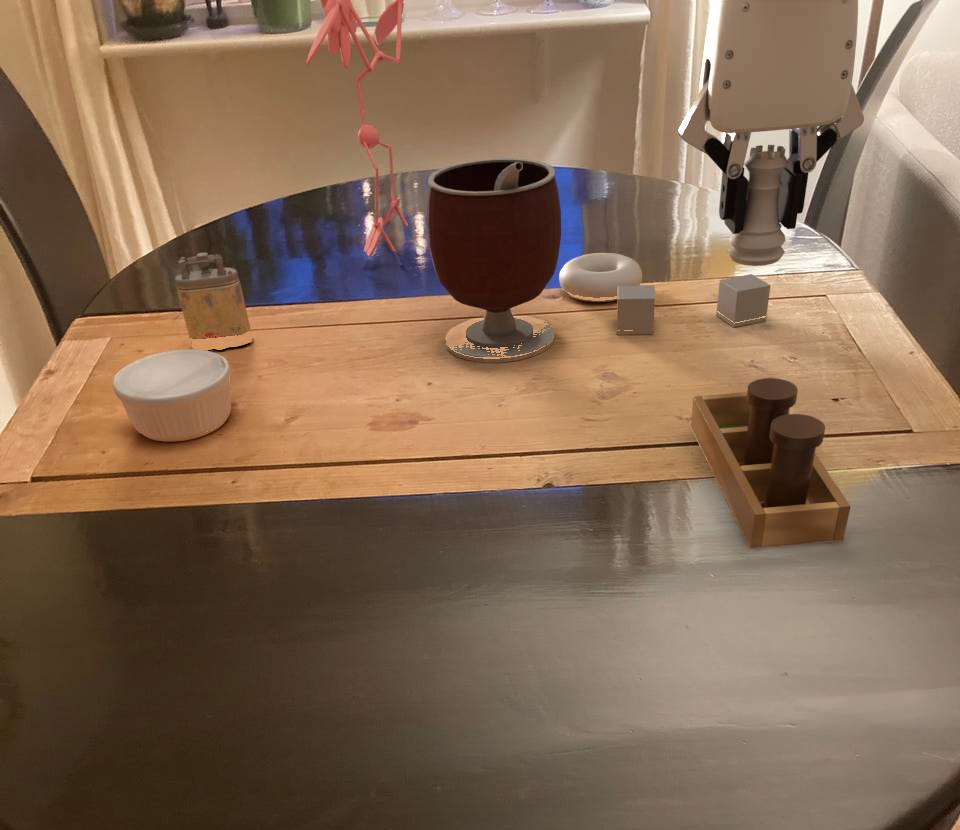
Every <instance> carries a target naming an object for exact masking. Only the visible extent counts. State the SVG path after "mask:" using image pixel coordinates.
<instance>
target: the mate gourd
mask: <svg viewBox="0 0 960 830" xmlns="http://www.w3.org/2000/svg"><path fill="white" fill-rule="evenodd" d="M555 175H556V170H555V168H554V167H553V166H552V165H551V164H548V163H546V162H543V161H539V160H533V159H529V158H528V159H527V158H513V157H511V158H509V157H502V158H486V159H483V158H482V159H475V160H470V161H464V162H459V163H455V164H451V165H447V166H445V167H442V168H439V169H438V170H435V171H434V172H432V173H431V174H430V175H428V178H427V184H428V188H427V195H426V215H425V216H426V219H425V223H426V227H427V228H426V234H427V244H428V249H429V253H430V258H431V262H432V266H433V268H434V272H435V275H436V277H437V280H438V282H439V283H440V285H442V287H443V288H444V289H445V290H446V291H447V292H448V294H449V295H450V296H451V297H452V299H454V301H456V302H458V303H460V304H462V305H464V306H468V307H472V308H475V309H481V310H483V311H485V313H484V315H485V316H484V320H482V321H479V322H476V323H474V324H472V325H471V326H469V327H468V328H467V330H466V338H467V340H468V341H469V342H471V343H473V344H474V345H472V346H475V347H472V348H475V349H471V348H470V344H469V345H467V346H469V347H467V348H466V344H464V345H462V346H464V347H462V348H459V347H458V345H457V346H454V347H457V348H454V350H455V349H457V350H455V351H457V352H460V353H462V354H464V355H469V356H474V357H502V356H501V355H499V356H497V354H501V352H500V353H496V352H494V353H491V350H490V349H489V350H486V349H482V347H483V348H486V347H488V348H498V349H500V347H508V348H505V349H509V350H506V351H503V352H507V353H504V354H503V355H506V356H515V355H520V354H525V353H529V352H532V353H529V354H526V355H522V356H517V357H511V358H500V359H483V358H474V357H469V356H464V355H462V354H459V353H456V352H454V351H453V350H451V349H450V348H449V347H448V346H447V345H446V343H445V342H444V344H445V345H444V346H445V349H446V350H447V351H448V352H449V353H450V354H451V355H452V356H455V357H456V358H459V359H461V360H462V359H463V360H465V361H470V362H475V363H484V364H485V363H488V364H490V363H492V364H499V363H510V362H516V361H521V360H526V359H529V358H532V357H535V356H537V355H540V354H541V353H544V352H545V351H547V350H548V349H549V348H551V347H552V345H553V344H554V342H555V338H556V336H555V335H556V334H555V335H554V333H555V328H554V327H553V326H552V327H550V326H551V325H552V323H550V322H548V324H549V325H546V327H544V328H543V329H546V330H547V331H544V333H542V330H543V329H541V332H540V333H534V334H537V335H533V327H532V325H531V324H530V323H528V322H526V321H524V320H521V319H516V318H514V317H513V315H512V313H513V312H512V311H511V309H513V308H514V307H515V308H516V307H518V306H521V305H523V304H525V303H529V302H530V301H533V300H534V299H536V298H537V297H539V296H540V295H541V294H542V292H543V291H544V290H545V288H546V286H547V285H548V284H549V282H551V279H552V278H553V277H554V275H555V272H556V270H557V269H556V268H557V265H558V260H559V255H560V246H561V240H562V209H561V202H560V195H559V189H558V184H557V180H556V176H555ZM544 323H546V322H544ZM547 328H550V329H547ZM538 332H539V331H538ZM539 334H540V335H539ZM533 336H536V337H533ZM553 337H554V338H553ZM552 339H553V340H552ZM551 340H552V341H551ZM550 341H551V342H550ZM549 342H550V343H549ZM465 343H466V342H465ZM521 343H522V344H521ZM548 343H549V344H548ZM547 344H548V345H547ZM514 345H515V346H514ZM518 345H522V346H519V347H520V348H519V349H517V348H518ZM545 345H546V346H545ZM477 346H480V347H477ZM543 346H545V347H543ZM513 347H515V348H513ZM541 347H543V348H541ZM478 348H480V349H478ZM539 348H541V349H539ZM460 349H462V350H460ZM538 349H539V350H538ZM518 350H520V351H518ZM534 350H538V351H535V352H533V351H534ZM487 351H490V352H487ZM493 351H495V350H493ZM499 351H500V350H499ZM488 354H489V355H488ZM492 354H495V355H492ZM503 357H504V356H503Z"/></svg>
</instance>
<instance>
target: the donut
mask: <svg viewBox="0 0 960 830" xmlns="http://www.w3.org/2000/svg"><path fill="white" fill-rule="evenodd" d="M558 279H559V286H560V288H561V287H562V288H563V289H564V290H565V291H567V292H570V293H571V294H573V295H579V296H583V297H593V298H600V297H614V296H618V286H640V285H641V283H642V281H643V272H642V268H641V266H640V264H639V263H638V262H637V261H635V260H634V259H633V258H632V257H629V256H626V255H624V254H621V253H620V254H619V253H613V252H594V253H588V254H583V255H579V256H577V257H576V256H575V258H572V259H571V260H569V261H567V262H566V263H565V264H564V265H563V267H562V268H561V269H560V272H559V276H558ZM562 288H561V289H562ZM569 297H570V298H573V299H575V300H577V301H578V300H579V301H583V302H589V303H606V302H607V303H608V302H614V301H617V299H613V300H605V301H591V300H582V299H577V298H574V297H572V296H569Z"/></svg>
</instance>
